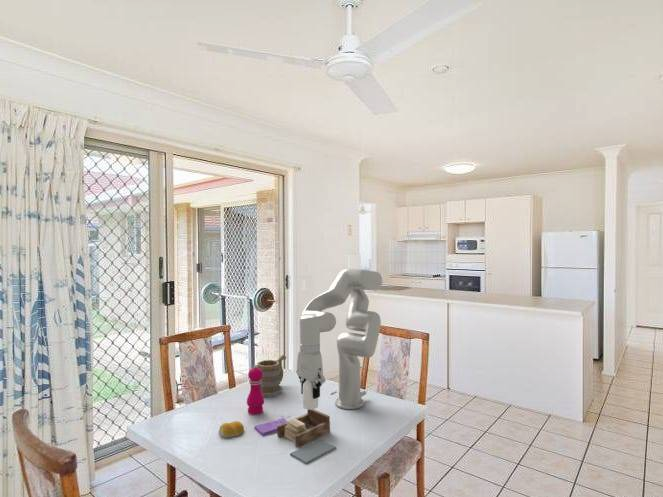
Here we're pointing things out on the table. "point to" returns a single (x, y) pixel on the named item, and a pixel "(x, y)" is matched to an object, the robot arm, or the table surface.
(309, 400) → the white tall rounded lump
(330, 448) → the mat
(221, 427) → the bread roll
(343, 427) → the table surface
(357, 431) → the table surface
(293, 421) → the offcut stack
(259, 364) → the mortar and pestle
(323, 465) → the table surface
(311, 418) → the rack
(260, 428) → the sponges
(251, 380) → the pepper mill
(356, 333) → the robot arm
